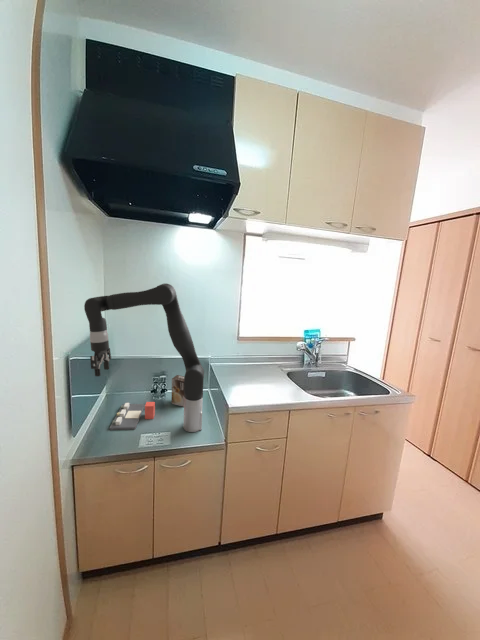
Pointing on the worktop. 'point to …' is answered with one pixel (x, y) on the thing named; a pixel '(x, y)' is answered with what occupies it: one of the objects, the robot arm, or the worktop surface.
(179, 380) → the coffee box
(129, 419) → the panel
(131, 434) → the worktop surface
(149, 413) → the coral red square block
